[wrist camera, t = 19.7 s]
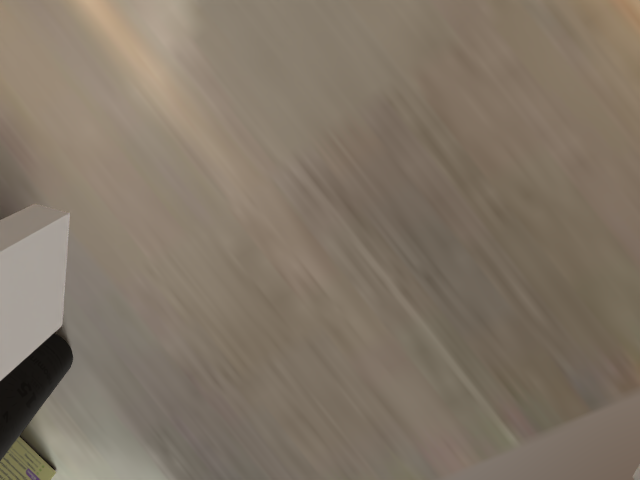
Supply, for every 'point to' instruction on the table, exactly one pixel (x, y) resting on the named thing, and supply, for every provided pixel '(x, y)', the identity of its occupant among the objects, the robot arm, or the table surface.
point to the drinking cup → (30, 387)
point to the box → (24, 464)
